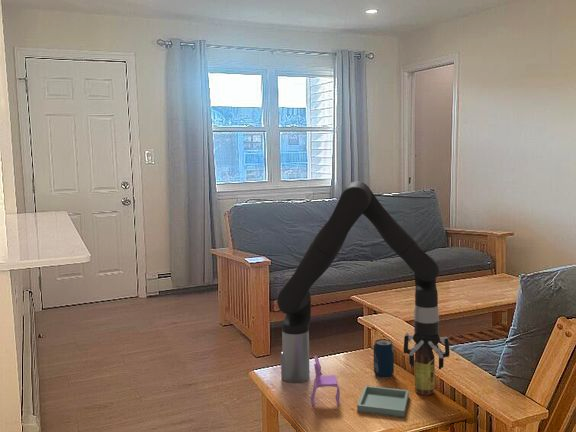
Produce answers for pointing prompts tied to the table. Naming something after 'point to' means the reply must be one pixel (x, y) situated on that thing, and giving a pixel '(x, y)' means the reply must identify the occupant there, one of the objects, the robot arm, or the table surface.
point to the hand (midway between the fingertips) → (426, 367)
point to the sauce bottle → (424, 370)
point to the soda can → (383, 358)
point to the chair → (323, 381)
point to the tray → (383, 401)
